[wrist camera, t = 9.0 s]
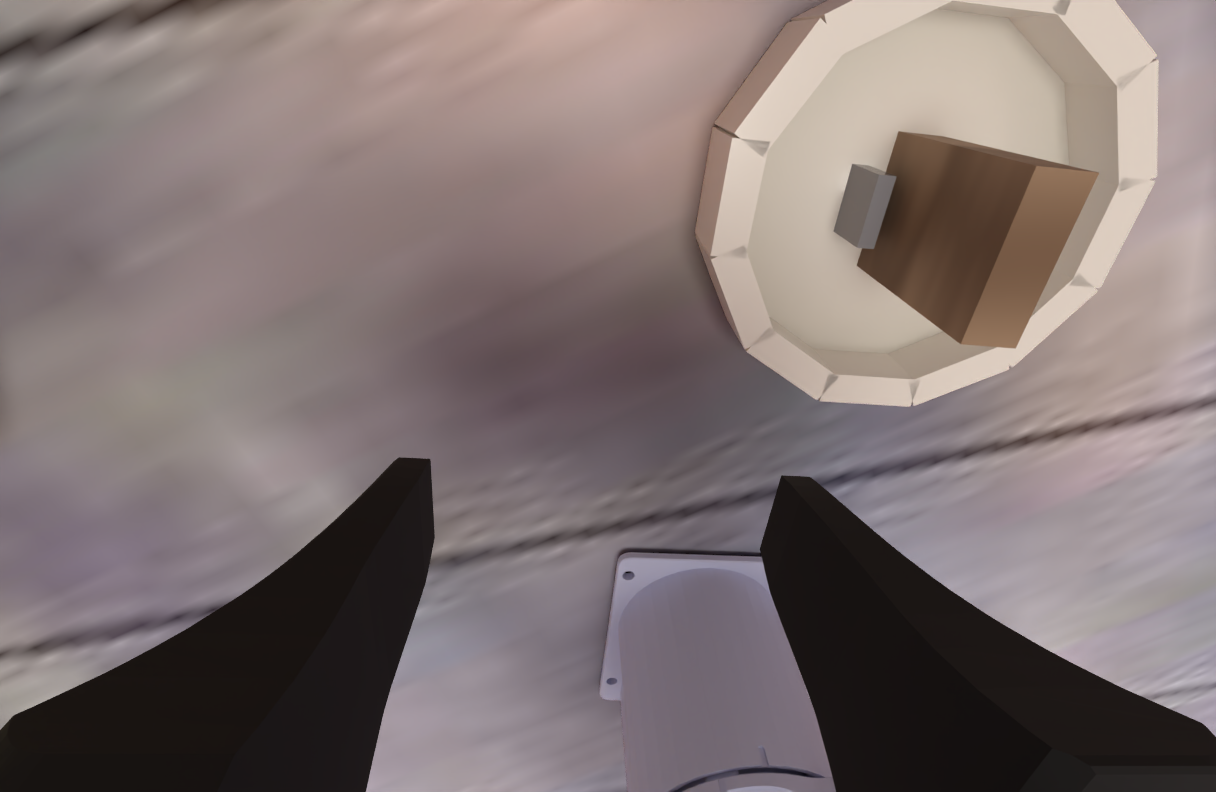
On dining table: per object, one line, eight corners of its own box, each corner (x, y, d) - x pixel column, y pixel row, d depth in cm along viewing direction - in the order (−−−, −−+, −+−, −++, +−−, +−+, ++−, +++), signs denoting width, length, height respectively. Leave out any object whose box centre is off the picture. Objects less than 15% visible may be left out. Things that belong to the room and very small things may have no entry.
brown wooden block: (897, 269, 20) (1015, 348, 14) (856, 265, 20) (960, 344, 14) (944, 136, 18) (1099, 172, 13) (898, 131, 18) (1036, 166, 12)
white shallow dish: (990, 379, 23) (1035, 414, 20) (673, 358, 22) (685, 393, 19) (1166, -4, 17) (1255, -12, 15) (743, -61, 16) (771, -79, 13)
